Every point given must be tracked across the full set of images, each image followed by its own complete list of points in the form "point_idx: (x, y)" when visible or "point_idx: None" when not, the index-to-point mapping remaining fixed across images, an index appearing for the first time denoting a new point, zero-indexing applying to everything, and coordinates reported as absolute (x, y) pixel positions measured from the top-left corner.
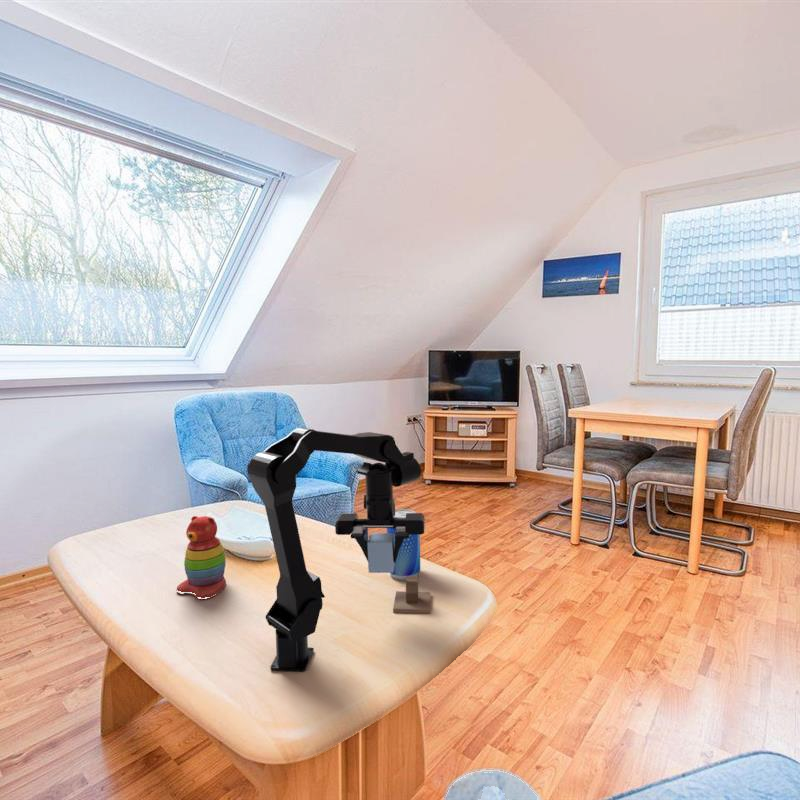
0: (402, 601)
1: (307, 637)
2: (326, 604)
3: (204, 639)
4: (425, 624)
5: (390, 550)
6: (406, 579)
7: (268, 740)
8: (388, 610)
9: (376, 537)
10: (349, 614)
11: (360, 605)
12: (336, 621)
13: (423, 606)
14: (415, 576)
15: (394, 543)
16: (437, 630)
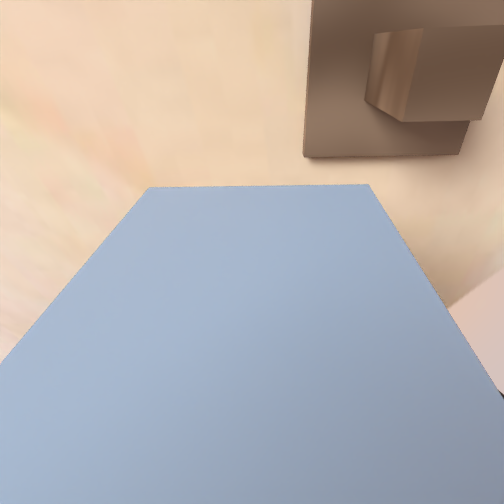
0: (347, 86)
1: None
2: (17, 107)
3: None
4: (414, 220)
5: None
6: (410, 96)
7: None
8: (283, 137)
9: None
10: (143, 177)
11: (159, 104)
12: (120, 220)
13: (439, 126)
14: (492, 34)
15: (458, 334)
16: (444, 248)
